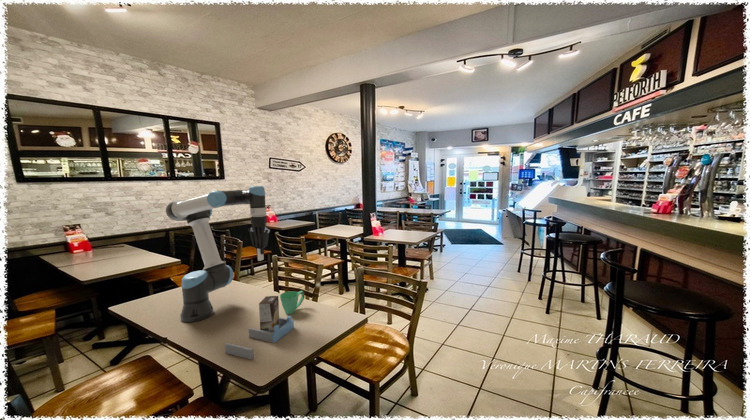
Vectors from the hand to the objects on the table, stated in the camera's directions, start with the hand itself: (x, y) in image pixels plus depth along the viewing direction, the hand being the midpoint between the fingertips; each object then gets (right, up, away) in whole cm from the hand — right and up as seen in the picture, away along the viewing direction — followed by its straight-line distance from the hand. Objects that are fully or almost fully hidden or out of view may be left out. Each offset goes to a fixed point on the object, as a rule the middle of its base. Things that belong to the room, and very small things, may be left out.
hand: (260, 260), depth 151 cm
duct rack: (+9, -32, -21) cm, 39 cm away
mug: (+15, -30, +8) cm, 34 cm away
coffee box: (+10, -32, -14) cm, 37 cm away
